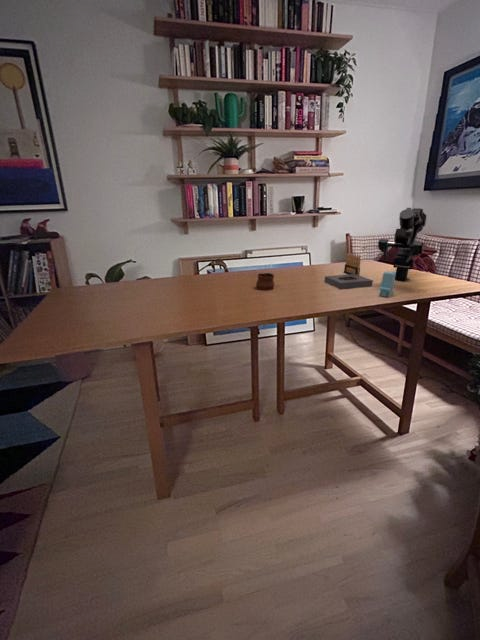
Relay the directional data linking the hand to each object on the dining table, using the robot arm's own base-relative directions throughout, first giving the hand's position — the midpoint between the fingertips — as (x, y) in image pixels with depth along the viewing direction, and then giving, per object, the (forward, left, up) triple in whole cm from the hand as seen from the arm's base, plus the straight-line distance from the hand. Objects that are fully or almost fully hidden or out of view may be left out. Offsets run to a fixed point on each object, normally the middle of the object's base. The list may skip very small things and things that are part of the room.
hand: (395, 260), depth 144 cm
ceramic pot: (+45, -38, -15) cm, 60 cm away
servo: (+8, +3, -14) cm, 16 cm away
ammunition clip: (-12, -29, -14) cm, 35 cm away
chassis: (+7, -18, -14) cm, 24 cm away
